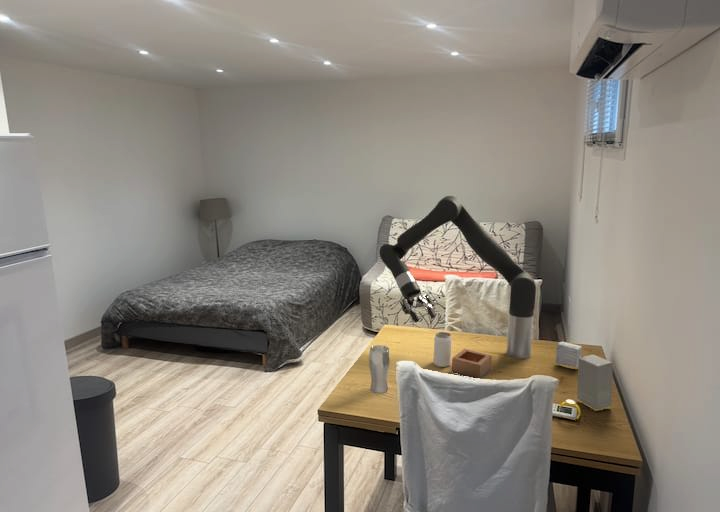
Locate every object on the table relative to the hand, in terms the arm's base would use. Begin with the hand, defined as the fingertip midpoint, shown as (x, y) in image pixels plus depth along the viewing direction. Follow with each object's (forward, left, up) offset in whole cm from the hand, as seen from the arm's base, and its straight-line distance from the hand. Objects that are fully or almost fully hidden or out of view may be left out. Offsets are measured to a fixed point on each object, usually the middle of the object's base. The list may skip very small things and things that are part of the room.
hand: (425, 319), depth 198 cm
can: (+3, +9, -15) cm, 18 cm away
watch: (+18, +59, -15) cm, 64 cm away
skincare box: (+4, +63, -15) cm, 65 cm away
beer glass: (+35, +1, -15) cm, 39 cm away
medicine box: (-23, +49, -15) cm, 56 cm away
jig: (+3, +21, -15) cm, 26 cm away
